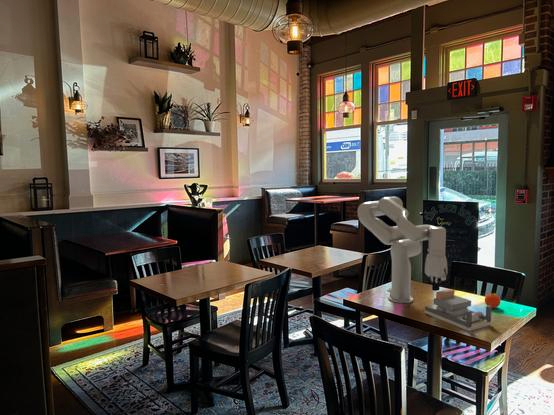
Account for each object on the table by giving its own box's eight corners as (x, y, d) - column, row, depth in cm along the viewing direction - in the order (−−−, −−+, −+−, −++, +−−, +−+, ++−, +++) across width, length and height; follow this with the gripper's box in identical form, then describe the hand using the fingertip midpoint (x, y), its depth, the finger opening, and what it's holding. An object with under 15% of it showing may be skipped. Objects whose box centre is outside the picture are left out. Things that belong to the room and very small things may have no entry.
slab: (433, 303, 191) (433, 292, 191) (452, 299, 197) (453, 288, 197) (451, 310, 183) (451, 298, 182) (470, 305, 189) (471, 294, 188)
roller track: (424, 313, 196) (424, 295, 195) (445, 308, 202) (446, 291, 202) (468, 331, 174) (469, 311, 174) (490, 324, 181) (491, 306, 180)
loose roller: (461, 321, 180) (463, 313, 180) (475, 318, 185) (477, 309, 184) (469, 325, 177) (471, 317, 176) (483, 322, 181) (485, 314, 180)
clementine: (491, 304, 208) (492, 290, 208) (504, 308, 202) (505, 294, 202) (481, 306, 205) (481, 292, 204) (494, 310, 199) (495, 296, 198)
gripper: (419, 250, 201) (418, 287, 203) (444, 256, 188) (443, 295, 190) (430, 249, 205) (429, 285, 206) (455, 254, 192) (454, 293, 193)
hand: (435, 290), depth 198 cm, fingers closed
